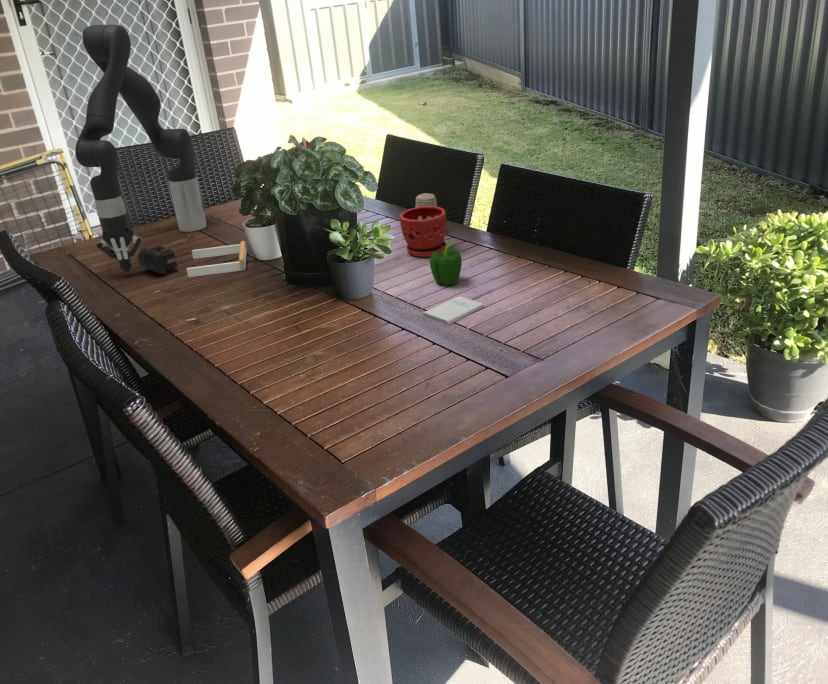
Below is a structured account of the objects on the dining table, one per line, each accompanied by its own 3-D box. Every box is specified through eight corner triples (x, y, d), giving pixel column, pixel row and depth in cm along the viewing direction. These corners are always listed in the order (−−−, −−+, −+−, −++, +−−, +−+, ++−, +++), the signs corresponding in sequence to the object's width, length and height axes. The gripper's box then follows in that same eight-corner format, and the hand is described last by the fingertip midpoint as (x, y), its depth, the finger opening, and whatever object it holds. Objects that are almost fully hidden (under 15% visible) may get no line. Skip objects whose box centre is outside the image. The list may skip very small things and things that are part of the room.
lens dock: (193, 257, 222) (191, 247, 220) (246, 251, 224) (244, 240, 222) (188, 277, 207) (186, 266, 205) (245, 270, 209) (243, 259, 207)
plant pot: (420, 242, 220) (417, 203, 214) (456, 248, 213) (454, 208, 207) (394, 255, 211) (390, 215, 205) (431, 262, 203) (428, 221, 198)
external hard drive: (423, 318, 172) (458, 301, 180) (448, 327, 167) (483, 309, 174) (422, 312, 172) (458, 295, 179) (447, 320, 166) (483, 303, 174)
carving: (432, 237, 223) (429, 199, 218) (411, 234, 227) (408, 196, 221) (442, 231, 228) (440, 193, 222) (422, 228, 231) (420, 191, 226)
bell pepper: (440, 290, 185) (437, 253, 180) (426, 280, 192) (424, 244, 187) (469, 283, 188) (467, 247, 183) (454, 274, 194) (453, 238, 190)
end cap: (140, 271, 214) (135, 250, 211) (162, 264, 219) (157, 243, 216) (157, 279, 208) (151, 256, 205) (179, 271, 212) (174, 249, 209)
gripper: (138, 206, 208) (152, 263, 216) (90, 212, 206) (106, 269, 214) (134, 213, 201) (148, 272, 209) (84, 219, 200) (101, 278, 207)
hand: (127, 270), depth 211 cm, fingers closed
